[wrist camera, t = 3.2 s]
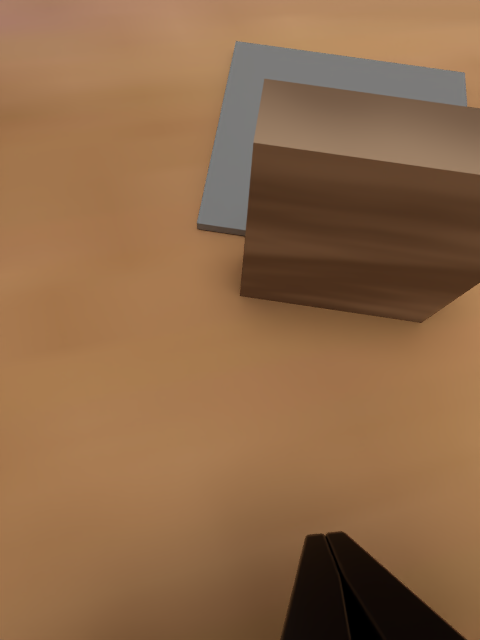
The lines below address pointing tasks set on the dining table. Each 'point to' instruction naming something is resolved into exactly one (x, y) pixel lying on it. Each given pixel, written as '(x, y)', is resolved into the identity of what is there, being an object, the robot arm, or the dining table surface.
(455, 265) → the walnut tile
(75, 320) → the dining table surface
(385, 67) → the slate board
